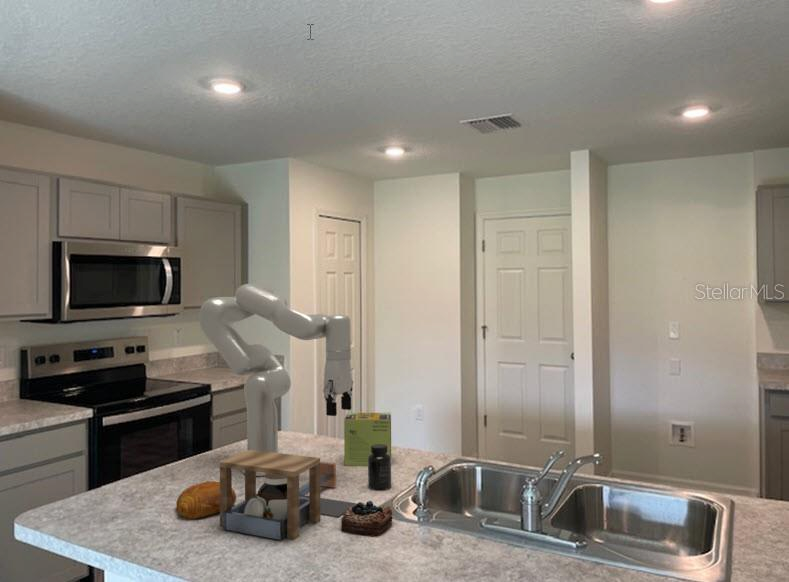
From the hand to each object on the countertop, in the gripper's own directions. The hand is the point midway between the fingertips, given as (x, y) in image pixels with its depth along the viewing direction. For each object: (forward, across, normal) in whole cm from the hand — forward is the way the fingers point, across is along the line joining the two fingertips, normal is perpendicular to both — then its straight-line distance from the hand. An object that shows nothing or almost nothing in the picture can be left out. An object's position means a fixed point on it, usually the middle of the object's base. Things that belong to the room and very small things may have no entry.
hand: (339, 412), depth 180 cm
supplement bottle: (+21, +1, +14) cm, 25 cm away
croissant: (+21, +34, -22) cm, 46 cm away
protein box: (+21, -21, 0) cm, 30 cm away
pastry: (+21, +29, +22) cm, 42 cm away
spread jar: (+21, +36, 0) cm, 42 cm away
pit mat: (+21, +22, +1) cm, 30 cm away
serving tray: (+20, +25, 0) cm, 32 cm away
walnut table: (+21, +36, 0) cm, 41 cm away
